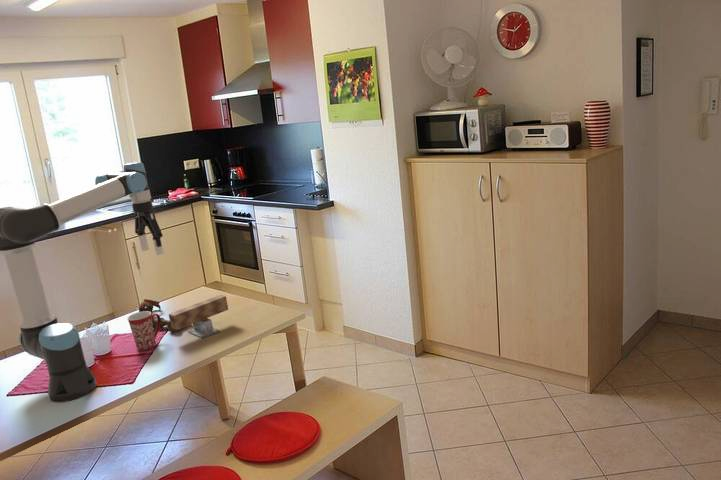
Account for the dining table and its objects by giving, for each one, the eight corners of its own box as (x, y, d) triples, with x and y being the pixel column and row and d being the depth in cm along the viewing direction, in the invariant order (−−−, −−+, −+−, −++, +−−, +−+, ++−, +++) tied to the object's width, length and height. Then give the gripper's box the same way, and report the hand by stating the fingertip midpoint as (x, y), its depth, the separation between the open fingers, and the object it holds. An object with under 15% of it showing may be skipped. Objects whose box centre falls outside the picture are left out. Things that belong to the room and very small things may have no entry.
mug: (141, 353, 230) (133, 321, 226) (130, 348, 236) (123, 317, 233) (170, 341, 238) (163, 310, 235) (159, 336, 245) (152, 306, 241)
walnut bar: (176, 330, 233) (173, 315, 232) (171, 327, 236) (168, 313, 234) (228, 309, 249) (225, 296, 247) (223, 307, 252) (220, 294, 250)
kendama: (161, 324, 261) (199, 324, 254) (147, 334, 252) (186, 334, 245) (157, 311, 259) (196, 311, 252) (143, 321, 250) (183, 320, 243)
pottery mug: (136, 315, 276) (140, 298, 277) (156, 319, 280) (161, 302, 281) (138, 316, 265) (143, 298, 267) (160, 320, 269) (164, 302, 270)
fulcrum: (202, 338, 237) (199, 324, 236) (188, 332, 246) (185, 318, 244) (219, 331, 242) (217, 317, 241) (205, 325, 251) (202, 312, 249)
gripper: (119, 201, 242) (131, 251, 247) (145, 205, 224) (157, 258, 229) (137, 197, 247) (148, 246, 252) (164, 200, 229) (175, 253, 234)
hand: (152, 252), depth 241 cm, fingers open, 13 cm apart
